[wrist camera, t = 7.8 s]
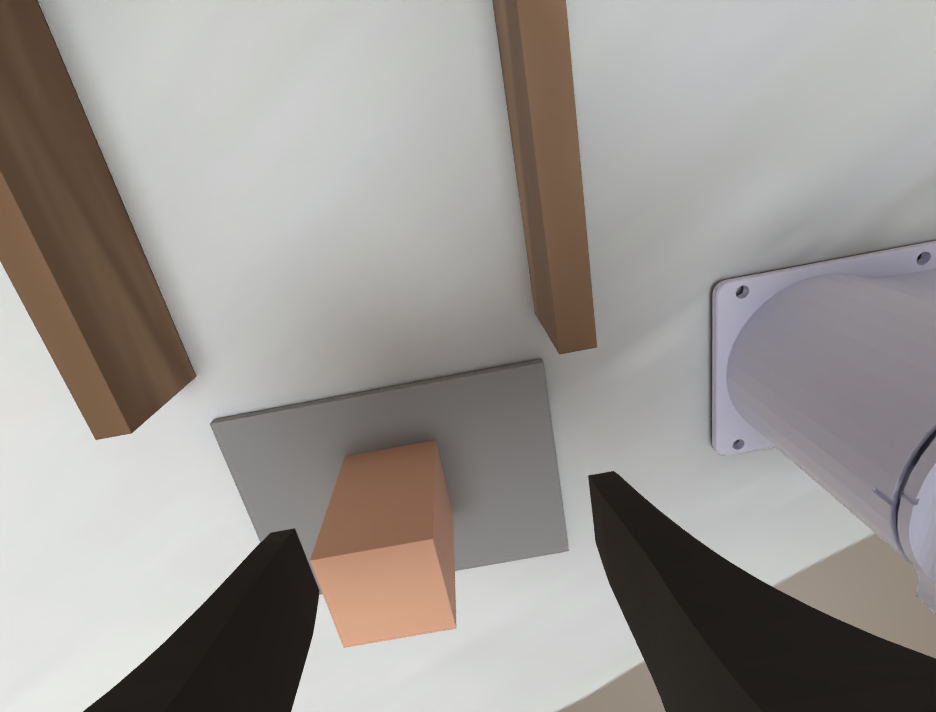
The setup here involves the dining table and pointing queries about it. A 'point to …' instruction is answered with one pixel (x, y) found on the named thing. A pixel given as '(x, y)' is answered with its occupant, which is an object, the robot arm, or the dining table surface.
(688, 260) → the dining table surface
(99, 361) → the open wooden frame
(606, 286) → the dining table surface
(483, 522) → the rubber mat
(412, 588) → the terracotta block
